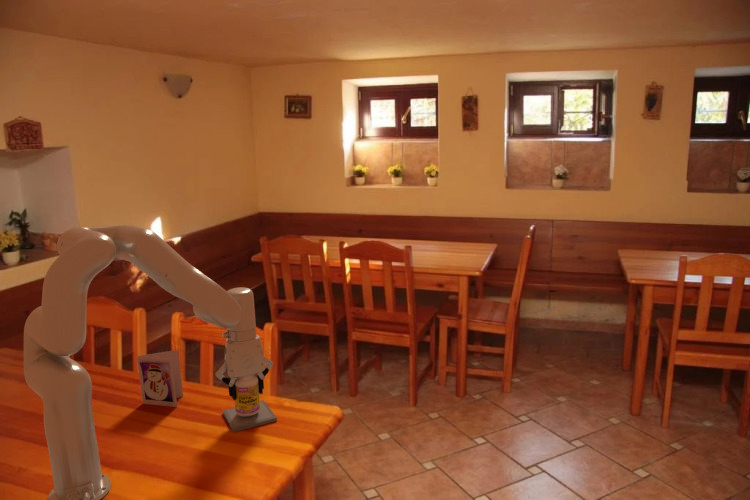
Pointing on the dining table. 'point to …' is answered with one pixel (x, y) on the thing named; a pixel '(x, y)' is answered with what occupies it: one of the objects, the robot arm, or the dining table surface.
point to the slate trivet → (249, 418)
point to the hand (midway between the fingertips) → (246, 394)
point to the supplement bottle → (247, 395)
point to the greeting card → (160, 378)
